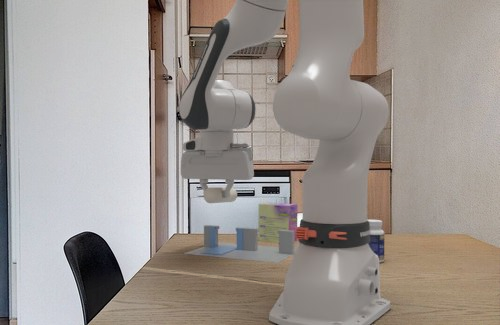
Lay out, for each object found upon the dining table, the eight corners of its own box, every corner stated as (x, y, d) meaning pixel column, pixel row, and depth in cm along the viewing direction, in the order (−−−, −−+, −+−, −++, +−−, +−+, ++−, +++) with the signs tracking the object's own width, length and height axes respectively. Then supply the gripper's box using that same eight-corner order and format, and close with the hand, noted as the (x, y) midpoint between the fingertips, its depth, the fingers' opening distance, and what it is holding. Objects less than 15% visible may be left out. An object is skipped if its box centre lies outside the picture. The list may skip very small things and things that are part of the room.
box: (297, 243, 136) (297, 203, 136) (288, 246, 131) (288, 205, 131) (267, 240, 142) (267, 202, 142) (258, 243, 137) (257, 203, 137)
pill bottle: (385, 264, 109) (385, 222, 109) (360, 263, 110) (360, 221, 110) (383, 258, 114) (383, 219, 114) (359, 258, 116) (359, 218, 115)
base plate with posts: (277, 266, 107) (277, 237, 107) (183, 256, 118) (183, 230, 118) (302, 252, 123) (302, 227, 123) (217, 244, 134) (217, 222, 134)
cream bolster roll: (216, 204, 115) (218, 188, 115) (202, 201, 117) (204, 186, 117) (236, 203, 126) (238, 188, 126) (223, 200, 128) (225, 186, 128)
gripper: (258, 143, 118) (258, 197, 118) (190, 144, 126) (190, 194, 126) (247, 142, 112) (247, 199, 112) (177, 144, 121) (177, 196, 121)
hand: (216, 197), depth 119 cm, fingers closed on cream bolster roll, 4 cm apart
